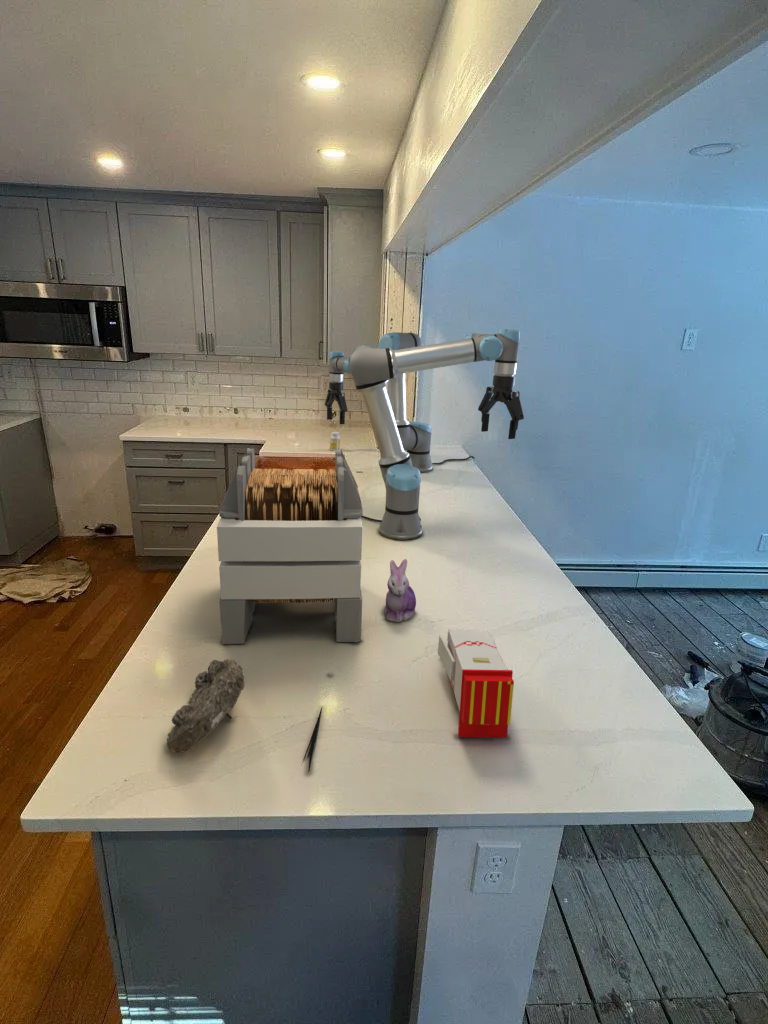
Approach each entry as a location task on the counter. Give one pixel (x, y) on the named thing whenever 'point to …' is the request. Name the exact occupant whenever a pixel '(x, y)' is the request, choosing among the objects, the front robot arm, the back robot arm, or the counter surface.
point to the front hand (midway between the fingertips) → (497, 435)
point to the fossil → (206, 705)
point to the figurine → (399, 594)
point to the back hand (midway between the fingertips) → (335, 421)
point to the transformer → (290, 544)
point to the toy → (478, 682)
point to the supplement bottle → (334, 441)
